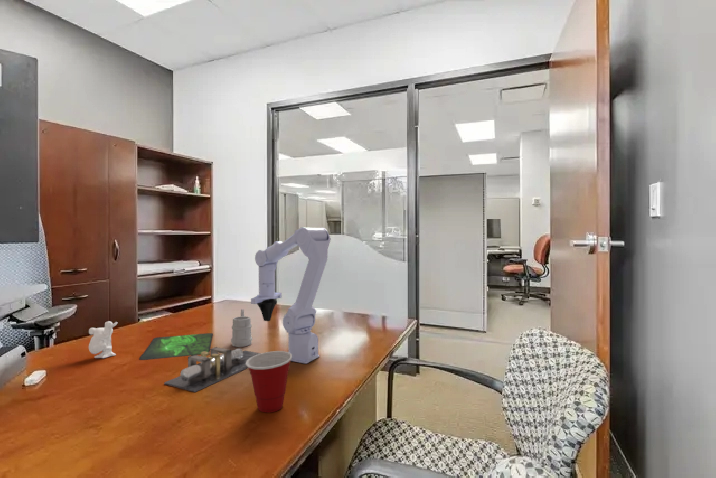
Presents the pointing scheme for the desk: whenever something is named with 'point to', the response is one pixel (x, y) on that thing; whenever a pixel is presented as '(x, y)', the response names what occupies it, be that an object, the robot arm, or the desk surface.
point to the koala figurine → (102, 340)
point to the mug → (241, 331)
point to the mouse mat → (178, 346)
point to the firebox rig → (213, 375)
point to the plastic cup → (269, 378)
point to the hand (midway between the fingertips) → (267, 320)
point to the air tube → (197, 369)
